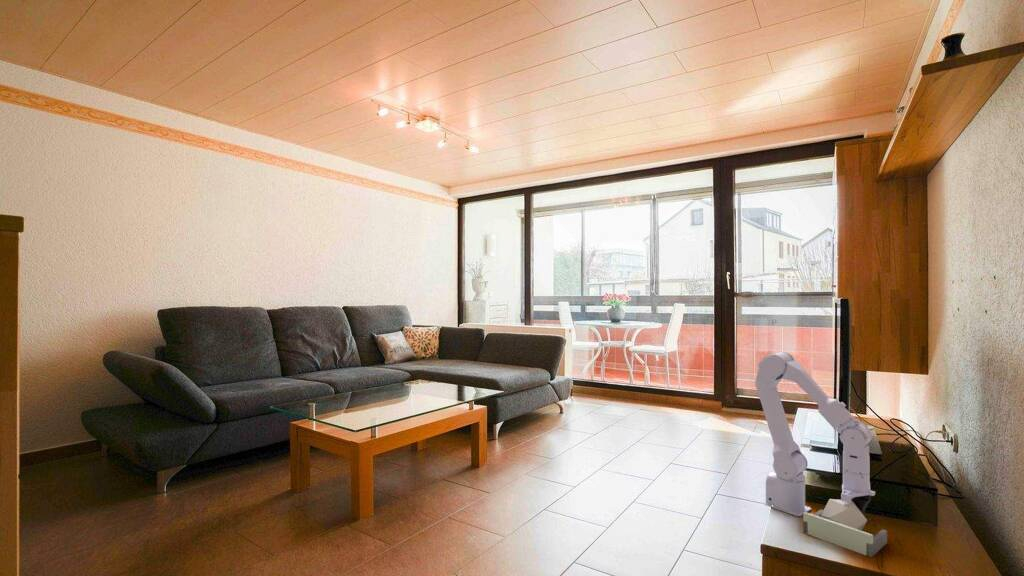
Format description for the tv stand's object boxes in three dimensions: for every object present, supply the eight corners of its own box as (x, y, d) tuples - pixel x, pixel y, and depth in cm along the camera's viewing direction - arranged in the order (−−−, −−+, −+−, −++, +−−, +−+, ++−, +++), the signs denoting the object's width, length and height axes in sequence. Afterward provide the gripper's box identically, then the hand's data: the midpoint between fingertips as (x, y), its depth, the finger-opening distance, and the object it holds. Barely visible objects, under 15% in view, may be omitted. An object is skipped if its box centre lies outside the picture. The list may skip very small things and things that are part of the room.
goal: (803, 532, 124) (803, 512, 124) (820, 520, 131) (820, 501, 131) (871, 557, 112) (871, 535, 112) (887, 543, 119) (887, 522, 119)
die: (861, 549, 117) (879, 513, 119) (824, 525, 120) (841, 490, 122) (845, 545, 125) (861, 510, 127) (810, 522, 128) (826, 489, 130)
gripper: (864, 481, 119) (864, 537, 119) (883, 469, 128) (883, 521, 127) (831, 473, 124) (831, 526, 124) (852, 461, 133) (852, 511, 133)
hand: (856, 523), depth 126 cm, fingers closed
